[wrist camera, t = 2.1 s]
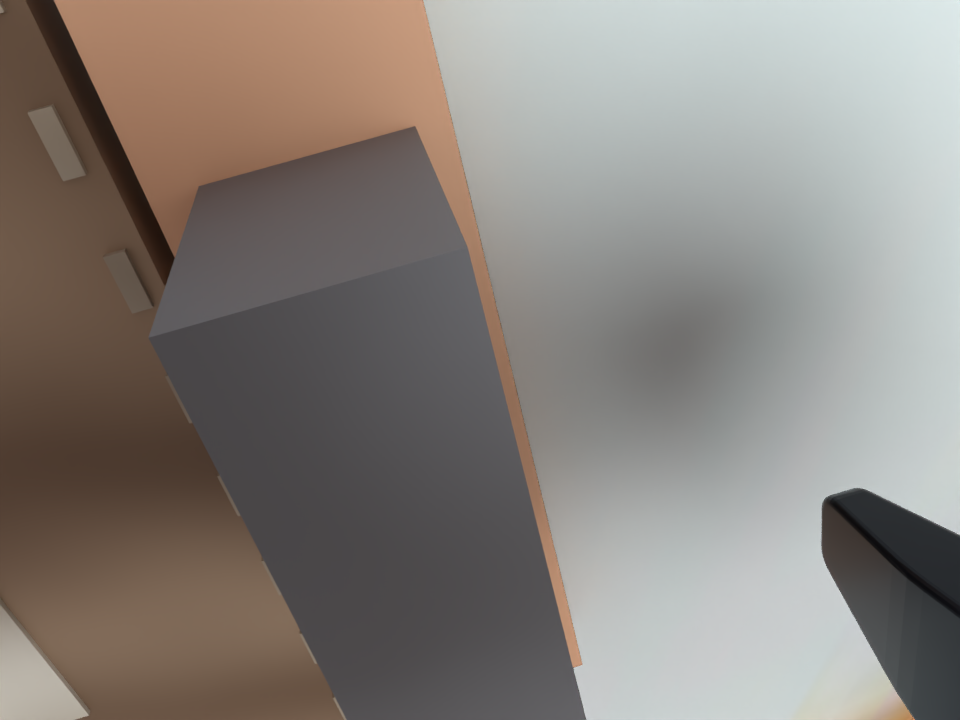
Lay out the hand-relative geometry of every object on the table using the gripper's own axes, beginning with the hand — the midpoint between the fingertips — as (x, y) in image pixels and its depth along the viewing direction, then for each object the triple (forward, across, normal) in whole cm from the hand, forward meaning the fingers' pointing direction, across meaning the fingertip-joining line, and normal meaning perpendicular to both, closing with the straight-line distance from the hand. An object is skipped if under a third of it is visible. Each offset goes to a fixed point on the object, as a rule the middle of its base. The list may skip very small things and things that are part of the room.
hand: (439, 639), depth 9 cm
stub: (+6, 0, 0) cm, 6 cm away
